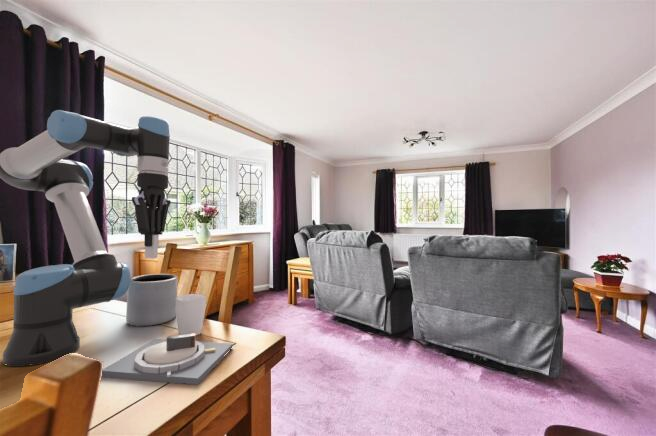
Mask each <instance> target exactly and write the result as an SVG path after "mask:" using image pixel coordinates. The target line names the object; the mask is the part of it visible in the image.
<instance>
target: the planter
mask: <svg viewBox="0 0 656 436" xmlns="http://www.w3.org/2000/svg"><path fill="white" fill-rule="evenodd" d="M178 279H179V278H178V275H176V274H173V273H172V274H170V273H152V274H142V275H141V274H140V275H136V276H132V277H131V279H130V284H129V288H128V290H127V292H126V294H127V296H126V312H125V313H126V314H125V317H126V319H125V320H126V323H128V324H129V325H131V326H134V327H150V326H151V327H152V325H153V326H158V325H161V324H162V323H163V324H165V322H166V323H168V322H170V321H172V320H173V319H175V317H176V318H177V316H176V298H177V297H178Z"/></svg>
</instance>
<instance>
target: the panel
mask: <svg viewBox="0 0 656 436" xmlns="http://www.w3.org/2000/svg"><path fill="white" fill-rule="evenodd" d="M166 341H167V338H154V339H152V340H150V341H148V342H147V343H146V344H144V345H142V346H140V347H138V348H137V349H135V350H133V351H132V352H130V353H129V354H127V355H125V356H123V357H122V358H120V359H118V360H116V361H115V362H113V363H111V364H110V365H108V366H107V367H104V368H103V369H101V370H102V377H101V378H108V377H109V378H110V379H121V380H134V381H145V382H157V383H159V382H160V383H167V382H169V383H170V384H179V383H186V384H185V385H191V384H195V386H198V385H199V384H200V383H201V382H202V381H203V380H204V379H205V378H206V377H207V376H208V375H209V374H210V373H211V372H212V371H213V370H214V369H215V368H216V366H217V365H218V364H219V363H220V362H221V361H222V360H223V359H224V358H225V357H224V355H225V354H226V353H227V352H228V351H229V350H230V349H231V348H232V346H233V343H225V342H213V341H212V342H211V341H201V340H200V341H198V340H195V343H196V344H197V353H196V354H194V355H193V356H192V357H190V358H187V359H185V360H182V361H179V362H176V363H169V364H163V365H158V364H147V363H146V362H144V356H145V351H146V350H147V349H149V348H150V347H152V346H154V345H156V344H159V343H162V342H166ZM233 347H234V346H233ZM223 357H224V358H223ZM222 358H223V359H222ZM221 359H222V360H221ZM220 360H221V361H220ZM219 361H220V362H219ZM218 362H219V363H218ZM217 363H218V364H217ZM216 364H217V365H216ZM215 365H216V366H215ZM214 367H215V368H214ZM213 368H214V369H213ZM212 369H213V370H212ZM211 370H212V371H211ZM210 371H211V372H210ZM209 372H210V373H209ZM208 373H209V374H208ZM207 374H208V375H207ZM206 375H207V376H206ZM205 376H206V377H205ZM204 377H205V378H204ZM203 378H204V379H203ZM169 383H168V384H169Z"/></svg>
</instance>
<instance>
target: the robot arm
mask: <svg viewBox="0 0 656 436" xmlns="http://www.w3.org/2000/svg"><path fill="white" fill-rule="evenodd" d="M46 123H47V124H46V130H44V131H43V132H40V133H39V134H38V135H36V136H34V137H33V138H31V139H30V140H28V141H26V142H25V143H23V144H21V145H20V146H18V147H16V146H14V147H9V148H6V149H4V150H3V151H1V152H0V179H1V180H2V181H3V182H5V184H8V185H9V186H11V187H14V188H17V189H20V190H26V191H35V192H43V193H44V196H45V198H46V199H47V200H48V201H50V202H51V203H54V206H55V209H56V212H57V215H58V218H59V221H60V223H61V226H62V230H63V232H64V235H65V238H66V241H67V243H68V246H69V249H70V252H71V255H72V258H73V259H72V260H73V261H74V262H73V263H71V264H68V263H65V264H63V263H60V264H55V265H53V264H52V265H46V266H40V267H36V268H32V269H29V270H25V271H23V272H21V273H19V274H18V275H17V276H16V277H15V281H14V289H13V291H12V294H13V328H12V329H13V330H12V333H11V335H10V337H9V339H8V342H7V345H6V347H5V349H4V350H3V352H2V364H3V363H4V364H7V365H10V366H9V367H15V366H16V367H24V366H23V365H29V366H31V365H30V364H36V365H40V364H44V363H49V362H53V361H56V360H59V359H61V358H60V357H62V356H64V355H66V354H69V353H71V354H73V353H74V352H76V351H77V350H79V348H80V342H81V341H80V340H81V339H80V335H78V332H77V328H76V326H75V324H74V321H73V310H75V309H80V308H85V307H88V306H92V305H97V304H102V303H108V302H111V301H114V300H118V299H120V298H122V297H124V296H125V294H127V290H128V288H129V284H130V279H131V278H132V277H131V270H130V267H129V265H128V264H127V263H125V262H121V261H120V262H118V261H117V259H116V256H115V255H114V254H112V253H109V252H108V251H107V248H106V246H105V243H104V240H103V237H102V235H101V232H100V229H99V227H98V225H97V221H96V219H95V217H94V214H93V211H92V209H91V206H90V203H89V201H88V197H87V196H89V194H90V192H91V190H92V189H93V185H94V181H93V179H94V177H93V174H92V171H91V169H90V168H89V167H88V165H87V164H85V163H83V162H80V161H76V160H73V159H66V158H67V157H69V156H71V155H73V154H75V153H76V152H79V151H81V150H83V149H85V148H92V149H97V150H102V151H107V152H112V153H113V154H115V155H117V156H120V157H135V156H137V168H136V169H137V172H139V173H137V177H136V180H137V181H136V182H137V183H136V186H137V188H140V190H139V192H138V196H132V197H131V201H132V203H133V206H134V211H135V219H136V225H137V230H138V231H137V232H138V233H139V234H140V235H143V236H144V241H143V242H144V259H158V250H159V248H158V247H159V236H161V235H163V234H164V233H163V232H165V228H166V223H167V217H168V213H169V206H170V205H171V202H172V201H171V200H169V199H167V198H166V194H165V193H166V192H165V190H167V189H168V188H169V177H168V174H169V160H170V159H169V158H170V137H171V134H170V124H169V121H167V120H165V119H163V118H161V117H156V116H152V115H151V116H150V115H143V116H141V117H140V118H139V119H138V123H137V127H134V128H129V127H125V126H121V125H117V124H114V123H110V122H106V121H102V120H101V119H96V118H93V117H89V116H85V115H82V114H79V113H77V112H71V111H67V110H66V111H65V110H62V109H56V110H54V111H52V112H51V114H50V116H49V117H48V119H47V122H46ZM72 352H73V353H72ZM69 355H70V354H69ZM64 357H65V356H64ZM58 358H59V359H58ZM62 358H63V357H62ZM39 363H40V364H39ZM4 364H3V365H4Z"/></svg>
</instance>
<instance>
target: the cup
mask: <svg viewBox="0 0 656 436" xmlns="http://www.w3.org/2000/svg"><path fill="white" fill-rule="evenodd" d="M206 298H207V297H206V295H205V294H202V293H188V294H182V295H179V296H177V298H176V323H177V330H178V335H186V334H192V333H195V335H198V334H199V335H201V334H202V331H203V330H202V329H203V324H204V320H205V314H206V313H205V312H206V309H207V300H206ZM200 333H201V334H200ZM199 335H198V336H199Z"/></svg>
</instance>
